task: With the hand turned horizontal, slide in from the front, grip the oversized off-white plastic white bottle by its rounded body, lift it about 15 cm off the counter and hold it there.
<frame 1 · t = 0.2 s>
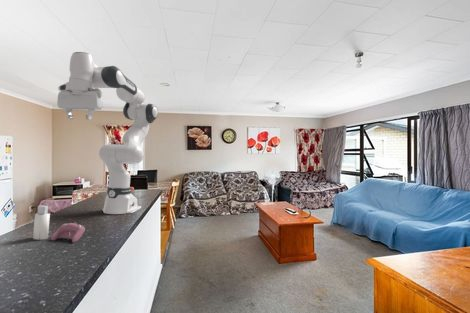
hand: (79, 119, 100), 48 cm above the countertop, tool pointing down, fingers open, 8 cm apart
video game controller: (68, 240, 84), on the countertop
white bottle: (40, 238, 84), on the countertop
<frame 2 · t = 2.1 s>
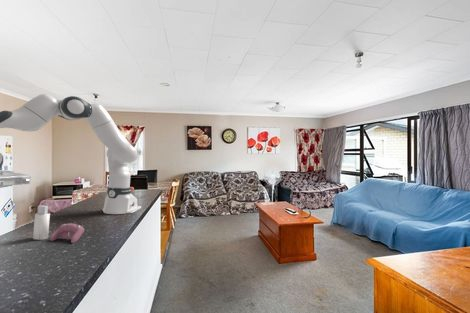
hand: (15, 182, 86), 20 cm above the countertop, tool horizontal, fingers open, 8 cm apart
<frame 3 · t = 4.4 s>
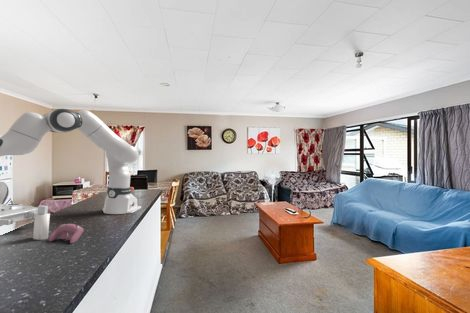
hand: (25, 218, 85), 6 cm above the countertop, tool horizontal, fingers open, 8 cm apart
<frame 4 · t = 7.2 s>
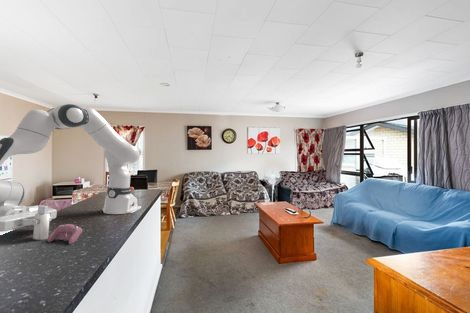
hand: (44, 220, 84), 7 cm above the countertop, tool horizontal, fingers closed on white bottle, 3 cm apart
white bottle: (40, 238, 84), on the countertop, touching gripper
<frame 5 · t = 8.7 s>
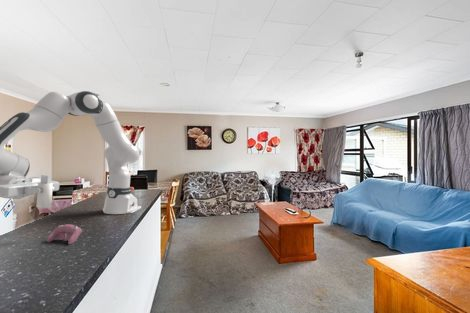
hand: (47, 190, 84), 18 cm above the countertop, tool horizontal, fingers closed on white bottle, 3 cm apart
white bottle: (43, 207, 84), point 12 cm above the countertop, touching gripper
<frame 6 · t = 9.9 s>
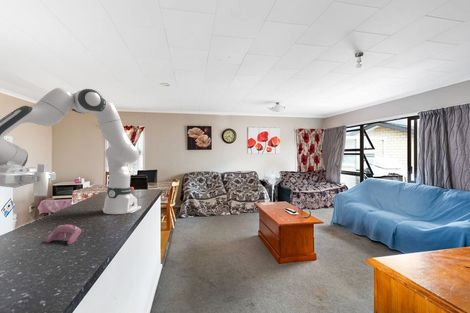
hand: (43, 178, 87), 22 cm above the countertop, tool horizontal, fingers closed on white bottle, 3 cm apart
white bottle: (39, 195, 87), point 15 cm above the countertop, touching gripper
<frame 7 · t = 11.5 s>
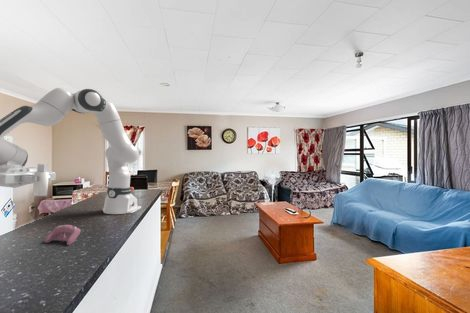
hand: (43, 178, 87), 22 cm above the countertop, tool horizontal, fingers closed on white bottle, 3 cm apart
white bottle: (39, 195, 87), point 15 cm above the countertop, touching gripper
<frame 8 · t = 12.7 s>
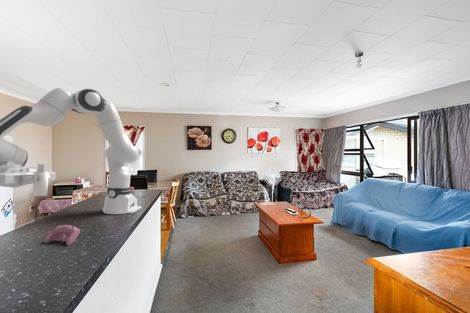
hand: (43, 178, 87), 22 cm above the countertop, tool horizontal, fingers closed on white bottle, 3 cm apart
white bottle: (39, 195, 87), point 15 cm above the countertop, touching gripper
at the end: the gripper is holding white bottle; white bottle point 15.4 cm above the countertop; white bottle tilted 0° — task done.
